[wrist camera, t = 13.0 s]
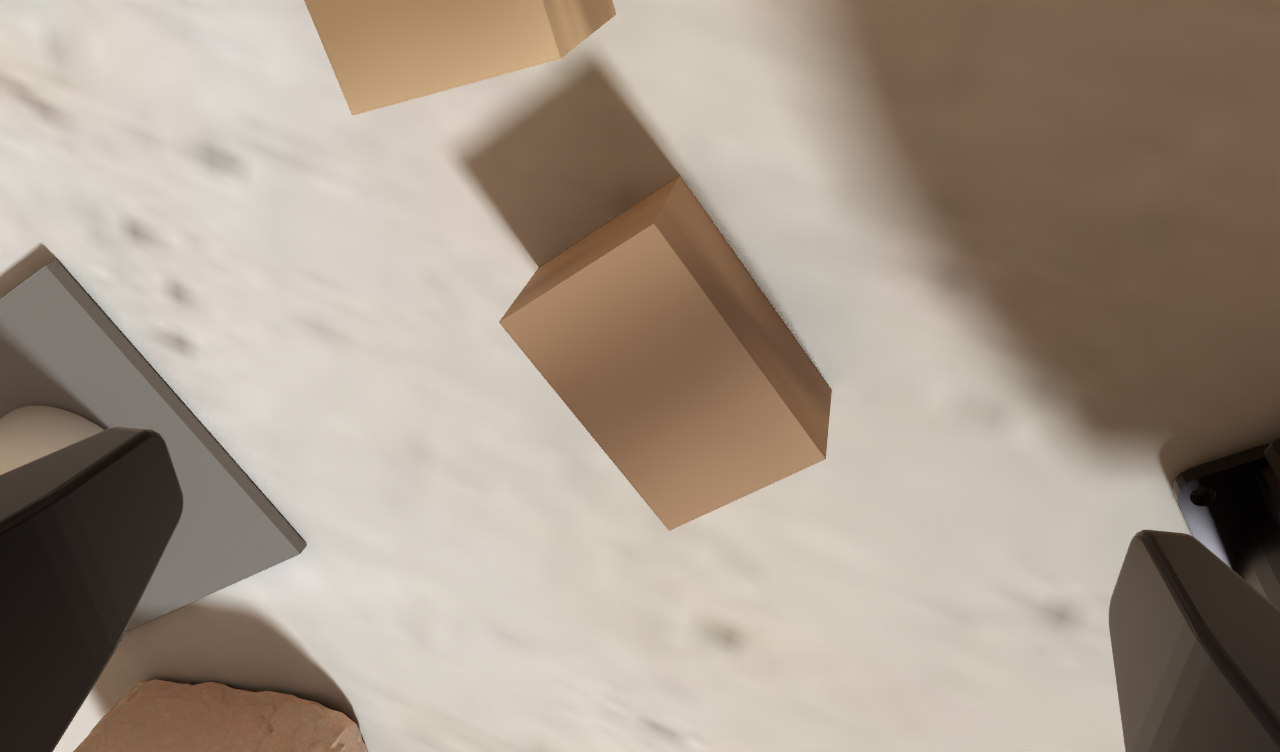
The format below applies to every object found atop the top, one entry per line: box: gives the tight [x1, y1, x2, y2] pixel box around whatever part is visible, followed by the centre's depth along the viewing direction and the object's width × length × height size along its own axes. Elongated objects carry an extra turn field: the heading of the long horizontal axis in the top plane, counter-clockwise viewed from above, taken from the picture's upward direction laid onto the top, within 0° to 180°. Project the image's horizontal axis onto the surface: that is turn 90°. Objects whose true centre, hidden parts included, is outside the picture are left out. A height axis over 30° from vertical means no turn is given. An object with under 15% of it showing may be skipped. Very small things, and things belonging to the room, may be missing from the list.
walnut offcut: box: [499, 176, 832, 531], centre depth 21 cm, size 6×4×3 cm, turn 37°
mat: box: [0, 259, 307, 632], centre depth 29 cm, size 10×10×1 cm
